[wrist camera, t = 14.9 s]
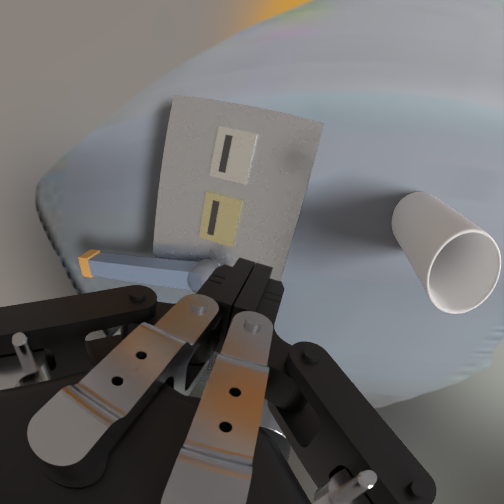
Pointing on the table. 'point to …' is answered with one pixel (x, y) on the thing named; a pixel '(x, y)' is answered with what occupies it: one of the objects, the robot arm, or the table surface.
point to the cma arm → (147, 269)
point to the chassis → (232, 182)
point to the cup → (446, 252)
